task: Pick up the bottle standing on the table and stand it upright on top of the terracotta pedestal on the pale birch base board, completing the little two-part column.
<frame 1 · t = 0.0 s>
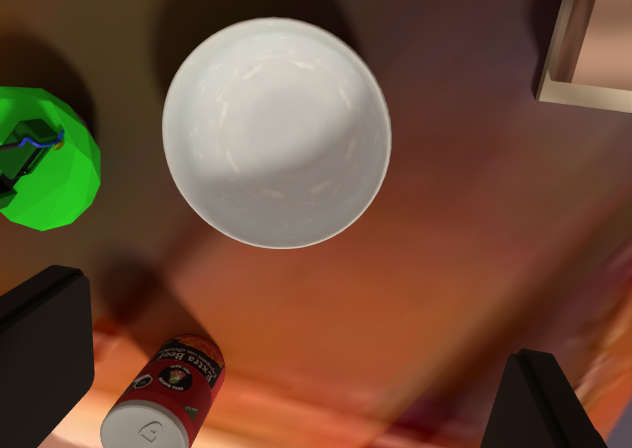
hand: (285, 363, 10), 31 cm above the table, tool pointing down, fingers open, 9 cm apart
canned food: (193, 362, 50), on the table
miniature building: (66, 151, 44), on the table
cereal bowl: (291, 129, 40), on the table
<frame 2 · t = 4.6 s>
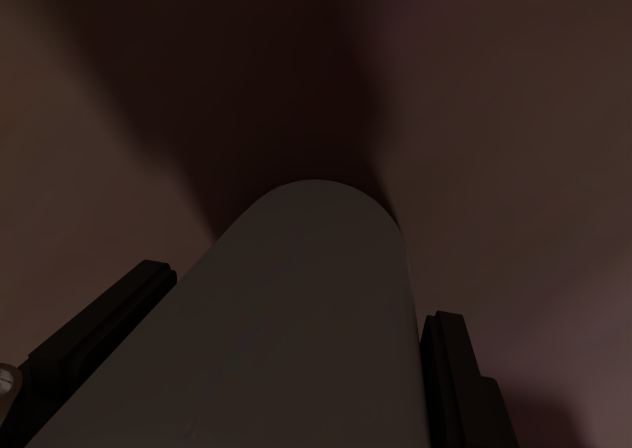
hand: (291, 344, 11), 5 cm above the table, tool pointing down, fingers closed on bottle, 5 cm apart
bottle: (319, 262, 15), on the table, touching gripper
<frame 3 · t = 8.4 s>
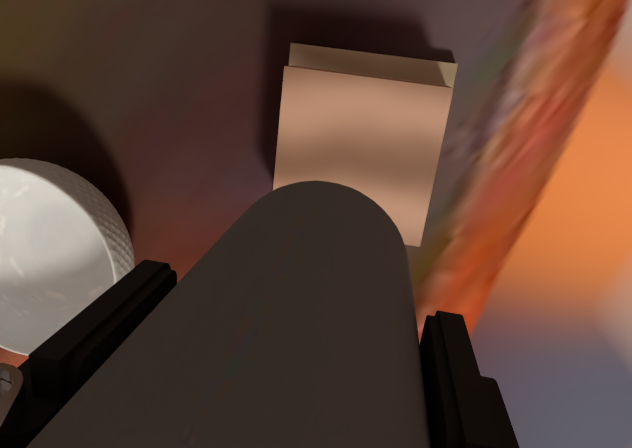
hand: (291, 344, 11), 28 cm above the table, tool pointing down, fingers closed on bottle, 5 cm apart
pedestal: (358, 147, 37), on the table
bottle: (318, 263, 15), point 23 cm above the table, touching gripper
cereal bowl: (72, 235, 43), on the table
when the fingers open (10 cm above the table, at t = 12.5 s): bottle stays where it is, resting on pedestal.
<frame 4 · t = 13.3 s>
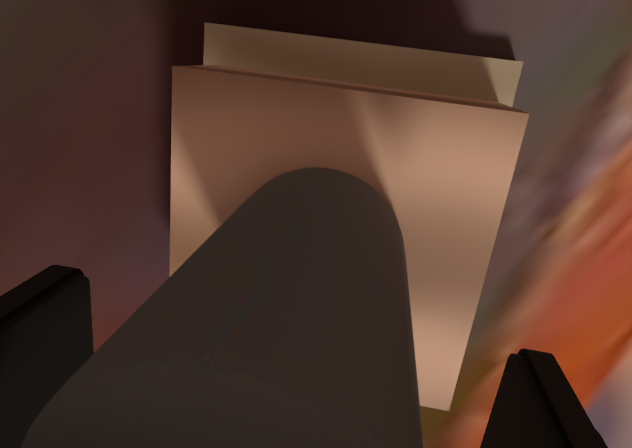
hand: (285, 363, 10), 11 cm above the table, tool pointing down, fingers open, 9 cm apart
pedestal: (336, 209, 21), on the table
bottle: (319, 246, 16), point 5 cm above the table, touching pedestal
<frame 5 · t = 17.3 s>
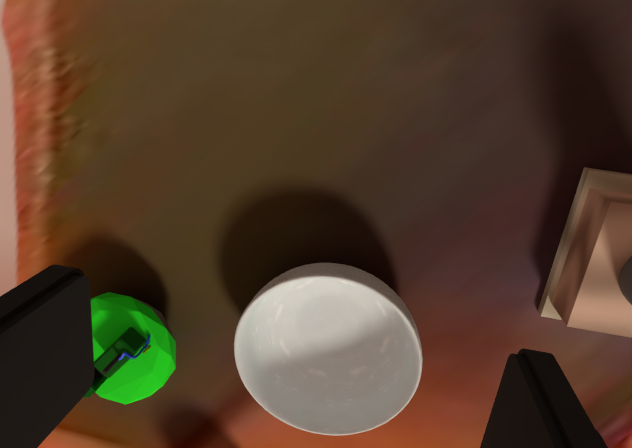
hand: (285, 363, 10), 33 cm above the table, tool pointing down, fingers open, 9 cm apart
pedestal: (629, 254, 41), on the table
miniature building: (140, 324, 52), on the table
cereal bowl: (333, 319, 48), on the table
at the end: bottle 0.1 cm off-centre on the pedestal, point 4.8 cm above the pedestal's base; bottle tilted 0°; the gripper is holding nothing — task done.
